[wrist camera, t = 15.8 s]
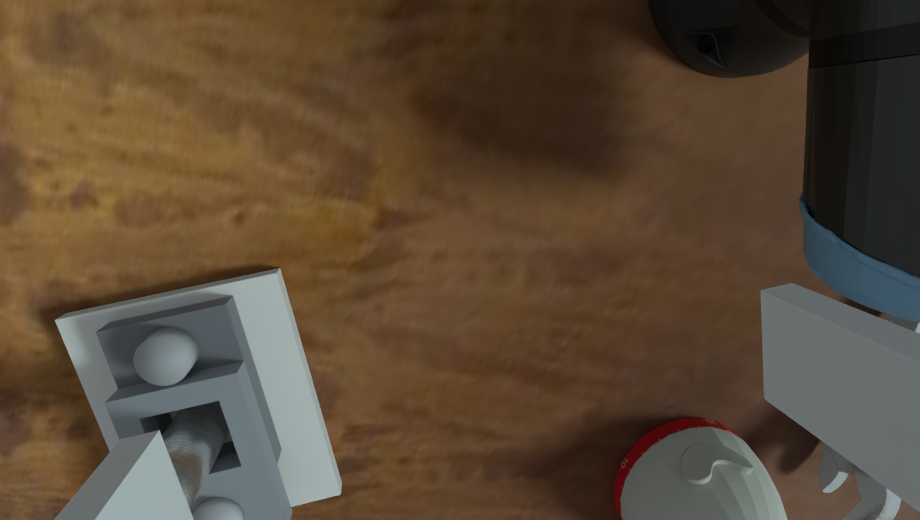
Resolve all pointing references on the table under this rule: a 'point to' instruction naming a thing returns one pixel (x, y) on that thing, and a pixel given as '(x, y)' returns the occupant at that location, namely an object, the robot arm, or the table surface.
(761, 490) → the kitchen timer
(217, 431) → the pin
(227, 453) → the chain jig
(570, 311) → the table surface
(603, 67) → the table surface
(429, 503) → the table surface
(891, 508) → the wrench
